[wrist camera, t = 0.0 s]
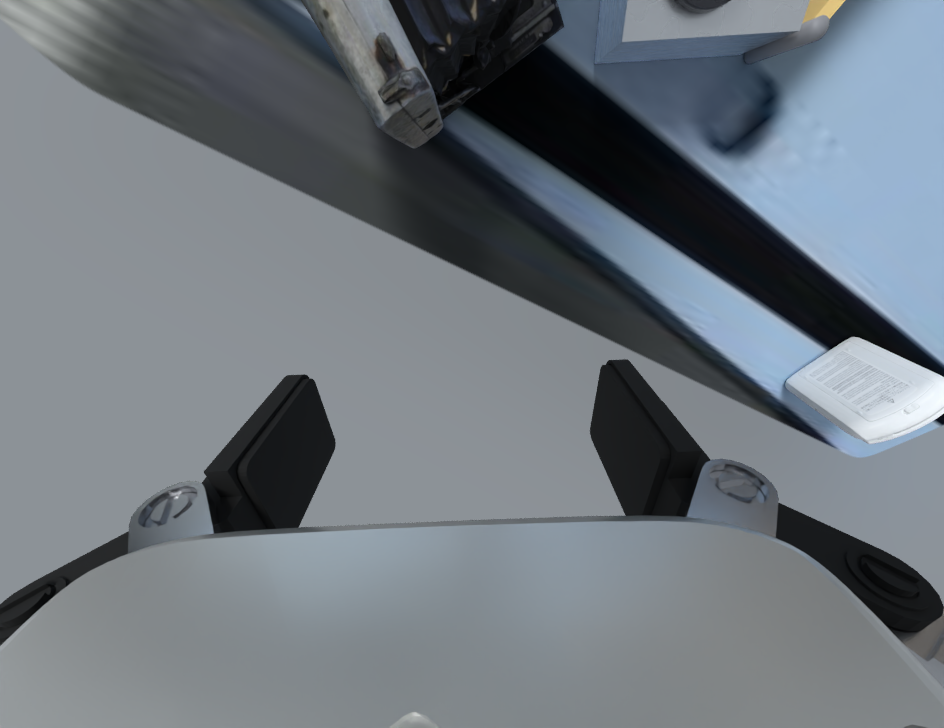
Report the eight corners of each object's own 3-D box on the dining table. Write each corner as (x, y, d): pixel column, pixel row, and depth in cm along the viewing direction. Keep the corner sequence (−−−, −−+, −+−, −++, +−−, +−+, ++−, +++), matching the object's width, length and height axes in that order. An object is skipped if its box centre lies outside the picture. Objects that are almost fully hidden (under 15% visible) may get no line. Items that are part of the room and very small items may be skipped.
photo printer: (792, 396, 50) (879, 458, 40) (777, 381, 49) (863, 442, 38) (866, 347, 46) (986, 402, 35) (853, 330, 45) (973, 382, 34)
